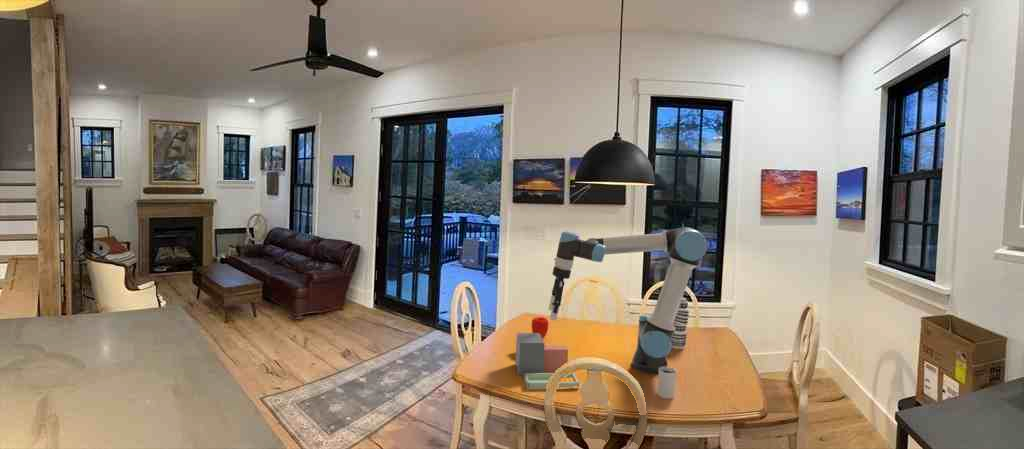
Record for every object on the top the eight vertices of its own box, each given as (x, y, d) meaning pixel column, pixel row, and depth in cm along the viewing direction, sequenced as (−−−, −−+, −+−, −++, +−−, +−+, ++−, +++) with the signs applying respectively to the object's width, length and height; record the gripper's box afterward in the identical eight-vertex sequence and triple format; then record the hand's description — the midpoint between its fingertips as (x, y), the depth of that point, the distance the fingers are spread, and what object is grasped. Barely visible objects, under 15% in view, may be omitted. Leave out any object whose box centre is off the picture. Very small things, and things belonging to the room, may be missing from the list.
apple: (542, 342, 230) (543, 321, 229) (527, 338, 235) (528, 318, 234) (550, 337, 238) (551, 317, 237) (536, 334, 242) (537, 314, 242)
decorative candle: (667, 347, 231) (671, 298, 228) (666, 341, 239) (670, 294, 237) (686, 350, 228) (690, 300, 226) (685, 344, 237) (689, 296, 234)
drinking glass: (658, 398, 174) (660, 372, 173) (655, 390, 181) (657, 365, 180) (676, 400, 173) (678, 374, 172) (673, 392, 180) (675, 367, 179)
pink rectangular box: (564, 367, 200) (565, 345, 199) (566, 372, 195) (568, 349, 194) (527, 367, 198) (528, 345, 197) (529, 372, 193) (530, 349, 192)
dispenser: (539, 364, 202) (541, 333, 201) (544, 376, 190) (546, 343, 189) (515, 364, 201) (516, 332, 200) (518, 376, 189) (520, 342, 188)
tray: (573, 379, 188) (573, 373, 188) (578, 389, 179) (579, 382, 179) (524, 379, 186) (524, 373, 186) (527, 389, 177) (527, 383, 177)
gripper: (552, 260, 209) (542, 304, 211) (555, 272, 184) (544, 322, 187) (568, 263, 209) (558, 308, 211) (574, 276, 184) (562, 326, 187)
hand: (552, 314), depth 199 cm, fingers open, 13 cm apart
